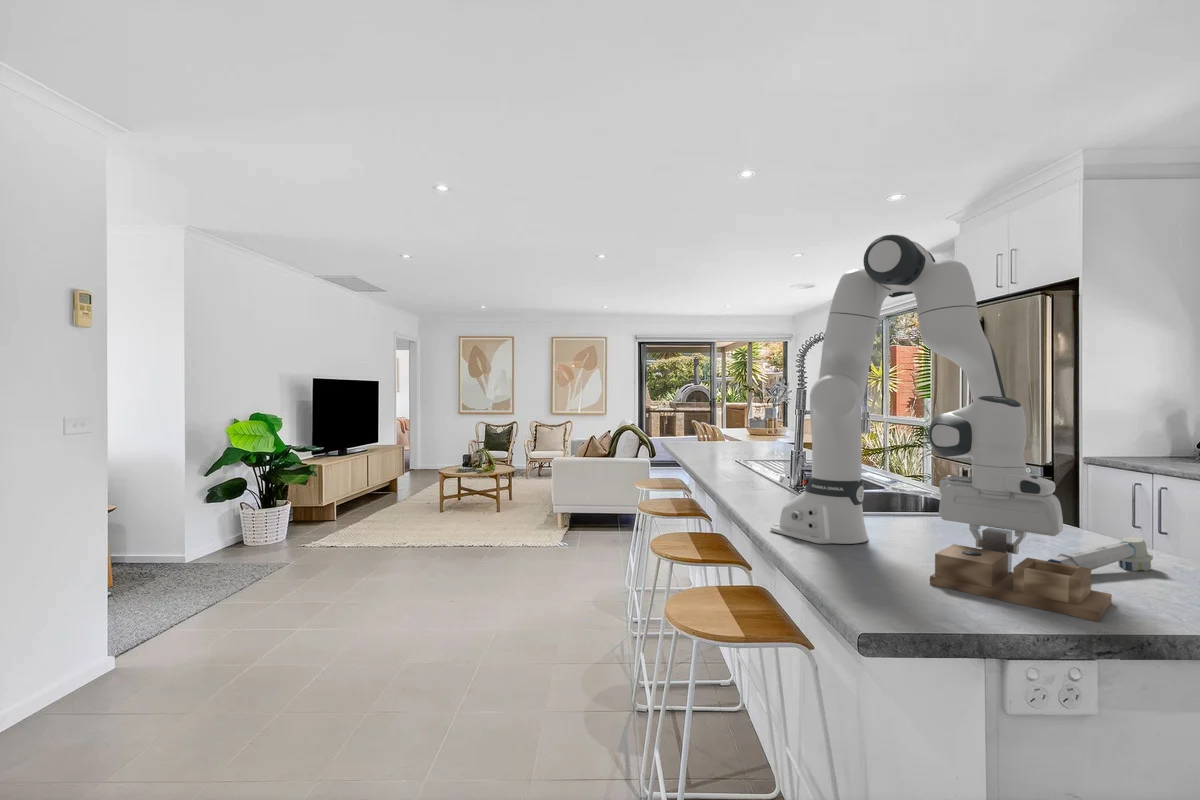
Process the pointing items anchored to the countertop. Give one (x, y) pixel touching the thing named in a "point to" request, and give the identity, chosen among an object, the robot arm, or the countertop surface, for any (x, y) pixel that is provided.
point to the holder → (1020, 581)
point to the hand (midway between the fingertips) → (996, 550)
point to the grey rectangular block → (997, 542)
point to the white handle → (1111, 556)
